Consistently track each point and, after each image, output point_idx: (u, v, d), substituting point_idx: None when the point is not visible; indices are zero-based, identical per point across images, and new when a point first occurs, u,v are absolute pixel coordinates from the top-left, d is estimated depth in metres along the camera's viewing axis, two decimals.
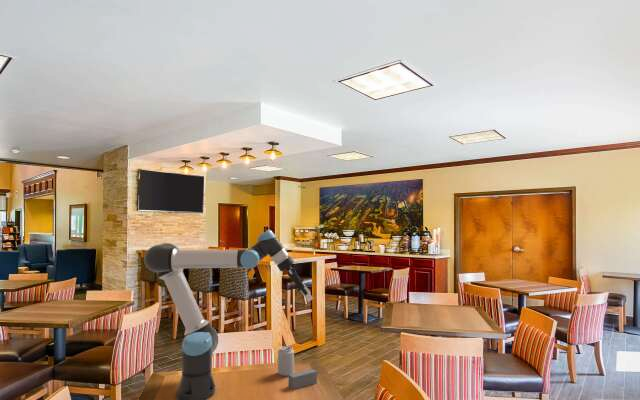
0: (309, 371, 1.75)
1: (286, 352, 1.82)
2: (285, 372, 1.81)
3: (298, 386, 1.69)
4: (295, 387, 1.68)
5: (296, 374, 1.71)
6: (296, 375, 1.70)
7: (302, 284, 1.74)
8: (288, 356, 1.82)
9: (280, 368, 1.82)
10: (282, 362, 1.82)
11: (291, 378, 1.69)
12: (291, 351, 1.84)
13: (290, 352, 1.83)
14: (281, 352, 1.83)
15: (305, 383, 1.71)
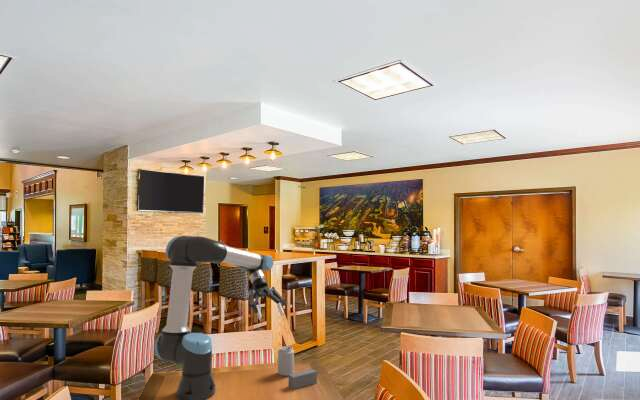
0: (309, 371, 1.75)
1: (286, 352, 1.82)
2: (285, 372, 1.81)
3: (298, 386, 1.69)
4: (295, 387, 1.68)
5: (296, 374, 1.71)
6: (296, 375, 1.70)
7: None
8: (288, 356, 1.82)
9: (280, 368, 1.82)
10: (282, 362, 1.82)
11: (291, 378, 1.69)
12: (291, 351, 1.84)
13: (290, 352, 1.83)
14: (281, 352, 1.83)
15: (305, 383, 1.71)
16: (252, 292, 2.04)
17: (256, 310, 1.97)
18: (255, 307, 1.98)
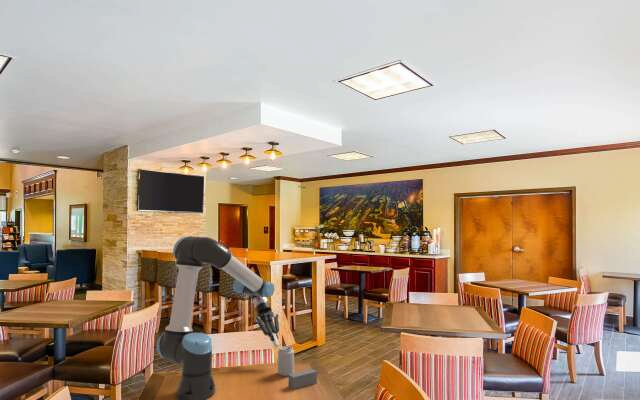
0: (309, 371, 1.75)
1: (286, 352, 1.82)
2: (285, 372, 1.81)
3: (298, 386, 1.69)
4: (295, 387, 1.68)
5: (296, 374, 1.71)
6: (296, 375, 1.70)
7: None
8: (288, 356, 1.82)
9: (280, 368, 1.82)
10: (282, 362, 1.82)
11: (291, 378, 1.69)
12: (291, 351, 1.84)
13: (290, 352, 1.83)
14: (281, 352, 1.83)
15: (305, 383, 1.71)
16: (259, 320, 2.00)
17: (272, 338, 1.95)
18: (271, 335, 1.96)
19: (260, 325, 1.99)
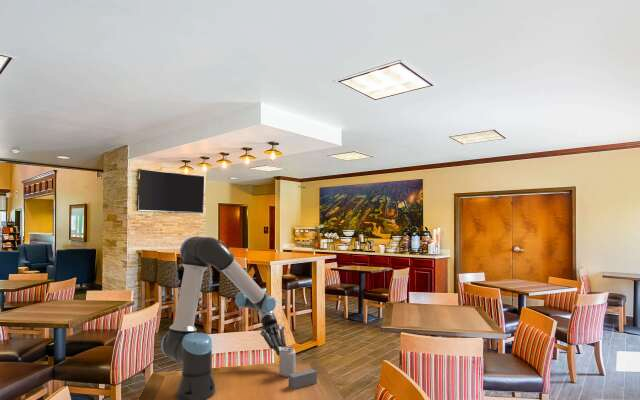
0: (309, 371, 1.75)
1: (287, 353, 1.81)
2: (287, 372, 1.81)
3: (298, 386, 1.69)
4: (295, 387, 1.68)
5: (296, 374, 1.71)
6: (296, 375, 1.70)
7: (283, 345, 1.96)
8: (289, 357, 1.81)
9: (281, 368, 1.82)
10: (283, 363, 1.81)
11: (291, 378, 1.69)
12: (292, 352, 1.83)
13: (291, 353, 1.82)
14: (282, 353, 1.82)
15: (305, 383, 1.71)
16: (265, 333, 1.94)
17: (278, 352, 1.90)
18: (277, 349, 1.91)
19: (266, 338, 1.94)
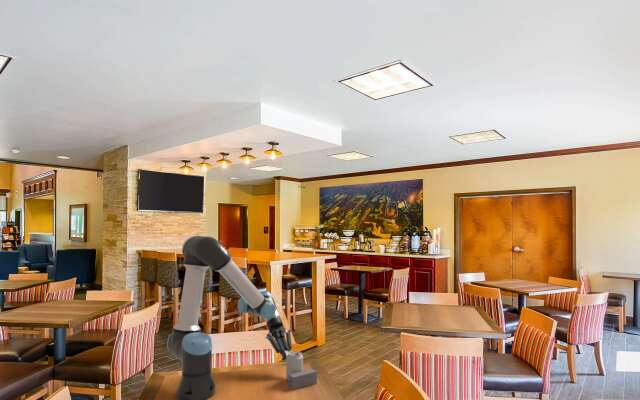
0: (309, 371, 1.75)
1: (294, 358, 1.75)
2: None
3: (298, 386, 1.69)
4: (295, 387, 1.68)
5: (296, 374, 1.71)
6: (296, 375, 1.70)
7: None
8: (297, 362, 1.75)
9: (288, 374, 1.75)
10: (290, 368, 1.75)
11: (291, 378, 1.69)
12: (300, 356, 1.76)
13: (299, 358, 1.76)
14: (289, 357, 1.76)
15: (305, 383, 1.71)
16: (271, 336, 1.88)
17: (285, 356, 1.84)
18: (283, 353, 1.85)
19: (272, 342, 1.87)
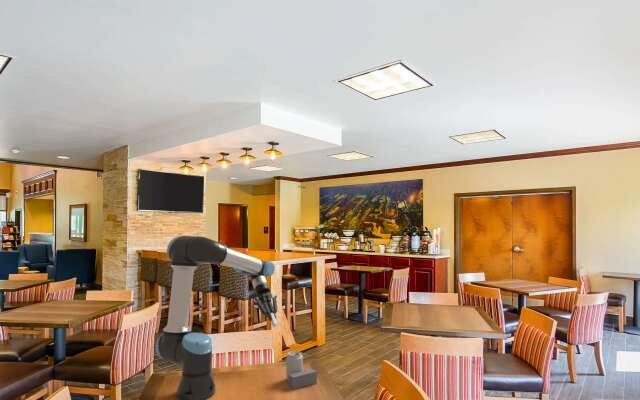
0: (309, 371, 1.75)
1: (294, 358, 1.75)
2: None
3: (298, 386, 1.69)
4: (295, 387, 1.68)
5: (296, 374, 1.71)
6: (296, 375, 1.70)
7: (275, 312, 2.03)
8: (297, 362, 1.75)
9: (288, 374, 1.75)
10: (290, 368, 1.75)
11: (291, 378, 1.69)
12: (300, 357, 1.76)
13: (299, 358, 1.76)
14: (289, 357, 1.76)
15: (305, 383, 1.71)
16: (258, 300, 2.02)
17: (270, 318, 1.97)
18: (269, 315, 1.98)
19: (258, 305, 2.01)
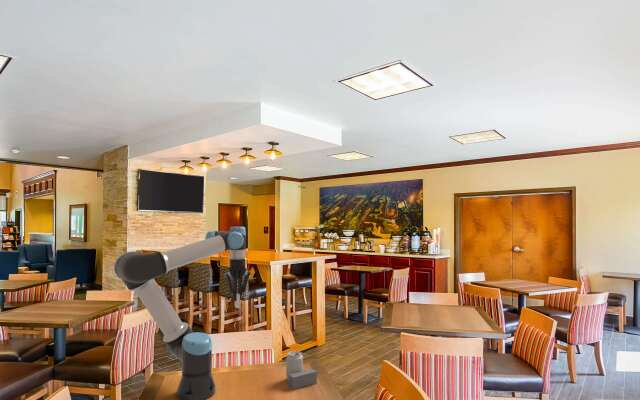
0: (309, 371, 1.75)
1: (294, 358, 1.75)
2: None
3: (298, 386, 1.69)
4: (295, 387, 1.68)
5: (296, 374, 1.71)
6: (296, 375, 1.70)
7: None
8: (297, 362, 1.75)
9: (288, 374, 1.75)
10: (290, 368, 1.75)
11: (291, 378, 1.69)
12: (300, 356, 1.76)
13: (299, 358, 1.76)
14: (289, 357, 1.76)
15: (305, 383, 1.71)
16: (229, 277, 1.89)
17: (235, 299, 1.91)
18: (235, 296, 1.91)
19: (227, 282, 1.90)
